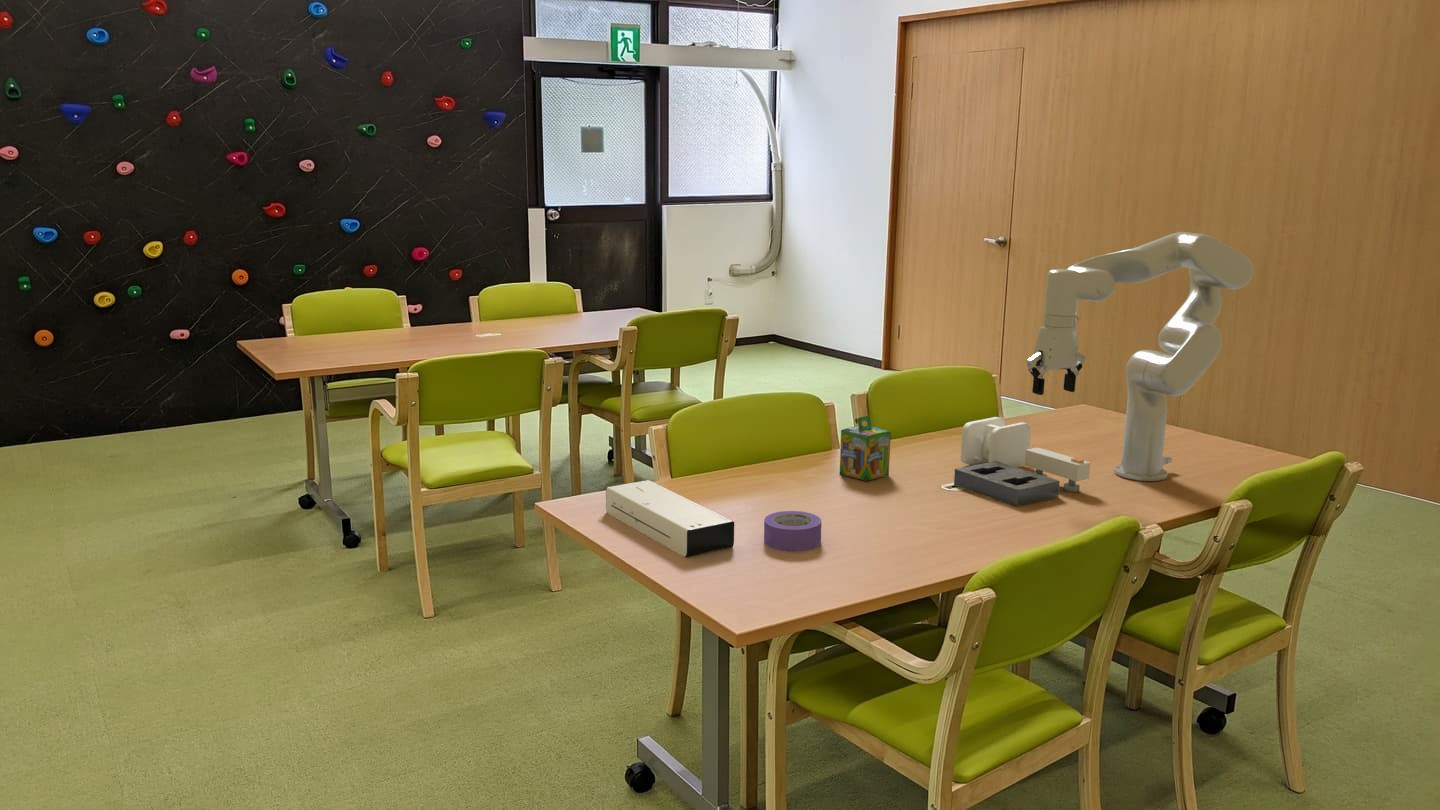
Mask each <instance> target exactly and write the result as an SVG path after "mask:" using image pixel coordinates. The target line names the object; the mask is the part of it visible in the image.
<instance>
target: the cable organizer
mask: <svg viewBox="0 0 1440 810" xmlns="http://www.w3.org/2000/svg"><path fill="white" fill-rule="evenodd" d="M961 431H962V433H961V445H960V446H961V447H960V461H961V463H962V464H965V465H968V466H973V465H978V464H982V463H985V462H986V463H988V462H993V461H997V462H1000V463H1004V464H1007V465H1010V466H1013V467H1017V468H1022V466H1025V465H1024V464H1025V451H1026V450H1027V449H1030V446H1031V445H1030V443H1031V431H1032V427H1031V424H1029V423H1027V422H1021V421H1020V422H1016V423H1013V424H1007V425H1006V421H1005V419H1004V418H1002V417H998V416H993V417H989V418H983V419H979V420H973V421H968V422H966V423H965V424H964V425H963V426H962V429H961Z"/></svg>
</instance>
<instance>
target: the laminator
mask: <svg viewBox="0 0 1440 810" xmlns="http://www.w3.org/2000/svg"><path fill="white" fill-rule="evenodd" d="M605 507H606V508H605V509H606V514H608V515H609V516H610V515H611V516H612V517H613V518H615V517H616V518H615V519H617V520H619V521H620V520H621V521H620V522H622V523H624V524H626V525H628V526H629V525H630V526H629V527H631V526H632V527H631V528H633V529H634V530H636V529H637V530H636V531H638V532H640V533H642V534H643V535H645V534H646V535H645V536H647V537H648V538H650V537H651V539H652V538H653V539H652V540H654V539H655V540H654V541H656V542H657V541H658V543H659V542H660V543H659V544H661V545H663V546H664V545H665V546H664V547H666V546H667V547H666V548H668V549H670V550H672V551H673V552H675V553H677V555H678V554H679V555H681V556H682V557H684V558H688V557H691V556H697V555H701V554H706V553H711V552H712V553H713V552H714V551H715V552H716V551H721V550H725V549H730V548H731V549H732V548H733V547H734V544H735V521H733V520H732V519H729V518H727V517H725V516H724V515H721V514H719V513H717V512H715V511H713V510H711V509H709V508H707V507H704V506H703V505H702V504H698V503H696V502H694V501H692V500H690V499H689V498H687V497H684V496H682V495H680V494H678V493H677V492H674V491H672V490H670V489H668V488H665V487H664V486H661V485H660V484H658V483H656V482H654V481H651V480H649V479H648V480H641V481H634V482H630V483H629V482H628V483H623V484H618V485H613V486H607V487H606V488H605Z"/></svg>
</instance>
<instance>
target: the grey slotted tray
mask: <svg viewBox="0 0 1440 810" xmlns="http://www.w3.org/2000/svg"><path fill="white" fill-rule="evenodd" d="M953 477H954V479H953V485H954V486H956V487H958V488H962V489H964V490H968V491H970V492H973V493H976V494H979V495H982V496H984V497H988V498H990V499H994V500H995V501H999V502H1002V503H1005V504H1008V505H1011V506H1014V507H1016V508H1018V507H1022V506H1027V505H1031V504H1035V503H1039V502H1044V501H1048V500H1052V499H1056V498H1059V491H1060V483H1061V481H1060V480H1059V479H1055V478H1051V477H1049V476H1047V477H1045V476H1042V475H1039V474H1036V472H1032V471H1030V470H1026V469H1023V468H1021V467H1019V468H1017V467H1013V466H1010V465H1007V464H1004V463H1000V462H997V461H993V462H982V463H979V464H976V465H972V466H971V465H968V466H964V467H958V468H955V469H954V476H953Z"/></svg>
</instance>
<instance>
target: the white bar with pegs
mask: <svg viewBox="0 0 1440 810" xmlns="http://www.w3.org/2000/svg"><path fill="white" fill-rule="evenodd" d="M1023 466H1026V467H1027V468H1032V469H1034V470H1036V471H1035V473H1036V474H1039V475H1042V476H1045V477H1048V475H1047V474H1046V473H1048V474H1051V475H1055V476H1058V477H1060V478H1064V479H1067V480H1068V482H1065V483H1064V484H1063V491H1064V492H1066V493H1069V494H1071V493H1072V494H1076V493H1077V494H1078V493H1080V486H1081V485H1080V484H1078V483H1077V482H1080V481H1083V480H1084V481H1085V480H1089V479H1090V471H1091V462H1090V461H1087V460H1084V459H1082V458H1078V457H1073V456H1070V455H1066V454H1063V453H1060V452H1059V453H1058V452H1055V451H1051V450H1049V449H1045V448H1041V447H1032V448H1029V449H1027V450H1026V451H1025V464H1024V465H1023Z"/></svg>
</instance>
